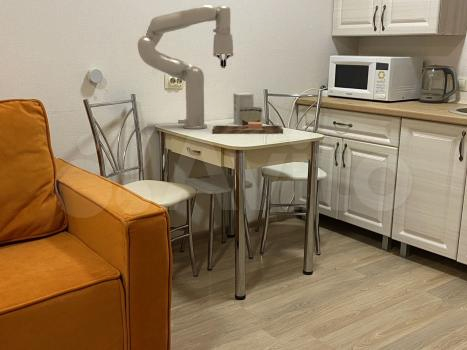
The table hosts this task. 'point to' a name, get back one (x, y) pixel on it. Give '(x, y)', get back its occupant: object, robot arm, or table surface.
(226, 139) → the table surface
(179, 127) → the table surface
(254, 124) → the block
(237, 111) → the supplement box
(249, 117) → the food container
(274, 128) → the track
